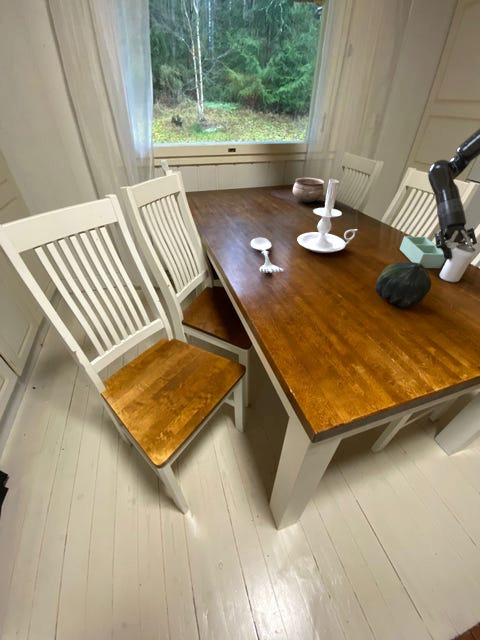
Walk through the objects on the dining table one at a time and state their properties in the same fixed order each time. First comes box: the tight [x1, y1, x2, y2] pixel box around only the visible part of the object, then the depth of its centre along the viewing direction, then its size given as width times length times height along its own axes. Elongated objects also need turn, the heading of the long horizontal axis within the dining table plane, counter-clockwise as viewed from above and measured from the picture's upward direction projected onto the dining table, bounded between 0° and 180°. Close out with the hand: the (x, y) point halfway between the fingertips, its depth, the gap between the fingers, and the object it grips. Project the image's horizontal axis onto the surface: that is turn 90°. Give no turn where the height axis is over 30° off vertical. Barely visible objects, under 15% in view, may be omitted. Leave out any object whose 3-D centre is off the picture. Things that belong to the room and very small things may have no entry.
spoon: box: [250, 237, 284, 274], centre depth 111 cm, size 9×32×4 cm, turn 5°
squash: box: [375, 261, 432, 309], centre depth 86 cm, size 14×15×15 cm
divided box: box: [399, 235, 446, 269], centre depth 112 cm, size 9×17×6 cm, turn 177°
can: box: [439, 244, 476, 283], centre depth 98 cm, size 6×6×12 cm
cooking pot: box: [292, 177, 325, 204], centre depth 172 cm, size 25×19×12 cm
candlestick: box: [296, 178, 358, 254], centre depth 112 cm, size 21×25×28 cm
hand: (459, 258), depth 97 cm, fingers open, 8 cm apart
